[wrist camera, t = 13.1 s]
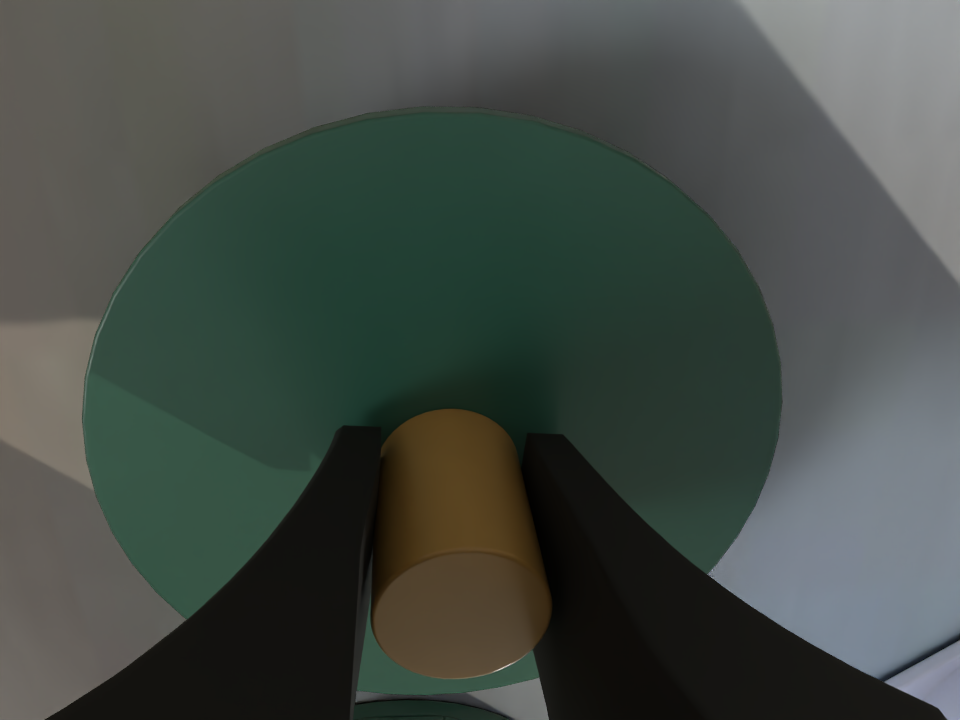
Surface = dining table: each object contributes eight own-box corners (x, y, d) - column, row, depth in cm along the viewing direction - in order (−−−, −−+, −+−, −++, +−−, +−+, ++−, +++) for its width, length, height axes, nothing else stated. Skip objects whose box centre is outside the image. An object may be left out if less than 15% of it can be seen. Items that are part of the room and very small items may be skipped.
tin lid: (489, -93, 10) (550, -121, 6) (860, 441, 15) (1024, 615, 11) (-44, 418, 13) (-237, 623, 9) (418, 724, 18) (424, 941, 14)
